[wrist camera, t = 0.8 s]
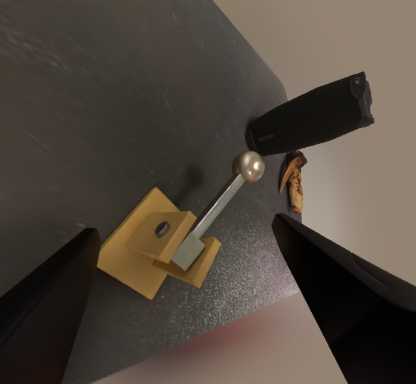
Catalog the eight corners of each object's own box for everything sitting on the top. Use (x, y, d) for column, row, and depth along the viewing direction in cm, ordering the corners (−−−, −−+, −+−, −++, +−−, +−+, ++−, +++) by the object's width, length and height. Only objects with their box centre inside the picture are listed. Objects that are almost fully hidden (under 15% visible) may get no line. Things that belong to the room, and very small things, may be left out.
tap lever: (237, 146, 22) (261, 141, 19) (252, 168, 23) (276, 167, 20) (153, 241, 17) (165, 256, 14) (177, 261, 19) (194, 279, 15)
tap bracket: (152, 188, 23) (195, 176, 16) (191, 226, 26) (239, 229, 20) (87, 260, 17) (114, 285, 11) (147, 297, 21) (194, 332, 14)
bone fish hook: (276, 144, 49) (278, 210, 44) (293, 138, 45) (297, 209, 41) (292, 156, 55) (295, 215, 50) (308, 151, 51) (313, 214, 47)
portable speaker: (262, 123, 44) (368, 77, 30) (267, 161, 44) (377, 133, 29) (240, 115, 38) (361, 53, 24) (246, 159, 38) (372, 123, 23)
